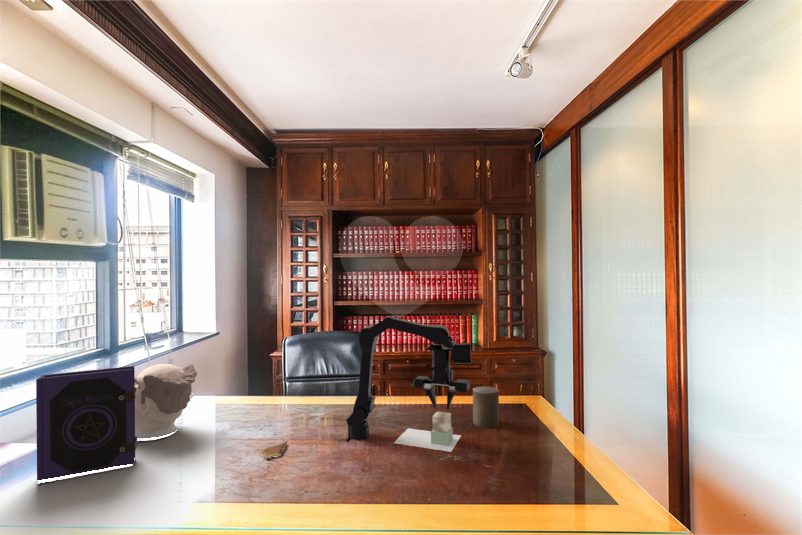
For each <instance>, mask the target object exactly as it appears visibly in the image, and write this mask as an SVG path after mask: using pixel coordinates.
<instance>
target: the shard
mask: <svg viewBox="0 0 802 535" xmlns="http://www.w3.org/2000/svg"><path fill="white" fill-rule="evenodd" d="M287 444H288V441H285V442H282V443H278V444H276V445H272V446H269V447H266V448H263V449H260V450H259V451H257V454H258V453H260V454H262V455H263V456H264V457H265V458H269V457H273V456H281V457H282V455H283V453H282V452H284V451H285V449H286V448H287ZM285 447H286V448H285ZM283 450H284V451H283Z"/></svg>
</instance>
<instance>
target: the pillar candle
mask: <svg viewBox="0 0 802 535" xmlns="http://www.w3.org/2000/svg"><path fill="white" fill-rule="evenodd" d="M499 394H500V393H499V389H498V388H496V387H493V386H492V387H491V386H476V387H473V388H472V423H473V425H474V426H476V427H477V428H478V427H479V428H482V429H483V428H485V429H489V428H490V429H491V428H492V429H493V428H495V427H500V408H499V407H500V406H499V405H500V404H499V403H500V401H499Z"/></svg>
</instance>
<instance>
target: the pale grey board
mask: <svg viewBox="0 0 802 535" xmlns="http://www.w3.org/2000/svg"><path fill="white" fill-rule="evenodd" d="M431 431H432V430H431ZM431 431H430V430H422V429H416V428H409V427H408V428H406V430H405V431H404V432H402V434H401V435H400V436H399V437H398V438H397V439H396V440H395V441H394V442H393V444H397V445H403V446H411V447H417V448H423V449H431V450H436V451H445V452H449V453H450V452H451V453H452V451H453V449H454V448H455V446H456V445H457V443H458V442H459V441H460V439H461V437H462V435H460V434H454V433H453V440H452V441H451V443H450V444H449V446H446V445H439V444H432V443H431Z"/></svg>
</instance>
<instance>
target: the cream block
mask: <svg viewBox="0 0 802 535" xmlns="http://www.w3.org/2000/svg"><path fill="white" fill-rule="evenodd" d="M451 427H452V413H451V412H444V411H443V412H442V411H436V412H434V414H433V415H432V430H433V431H436V432H443V433H447V432H448V431H449V430H450V429H451Z"/></svg>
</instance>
